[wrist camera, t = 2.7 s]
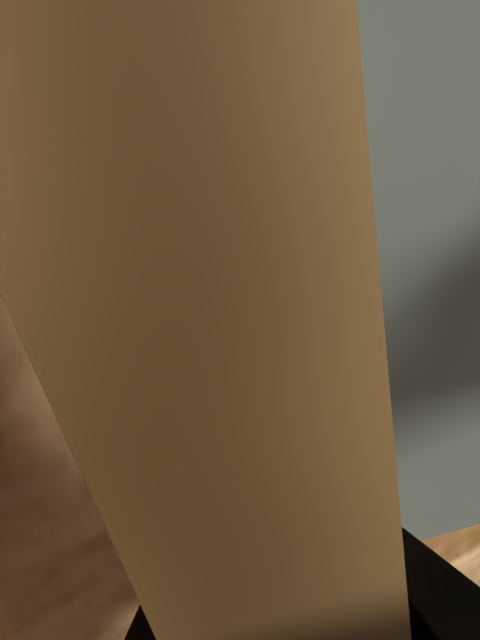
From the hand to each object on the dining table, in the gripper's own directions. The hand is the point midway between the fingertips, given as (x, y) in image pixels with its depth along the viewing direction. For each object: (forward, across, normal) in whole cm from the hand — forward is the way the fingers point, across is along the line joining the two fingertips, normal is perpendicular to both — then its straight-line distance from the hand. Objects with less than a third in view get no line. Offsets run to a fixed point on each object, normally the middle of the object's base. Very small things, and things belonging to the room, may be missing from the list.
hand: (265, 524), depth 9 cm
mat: (+8, -10, 0) cm, 13 cm away
